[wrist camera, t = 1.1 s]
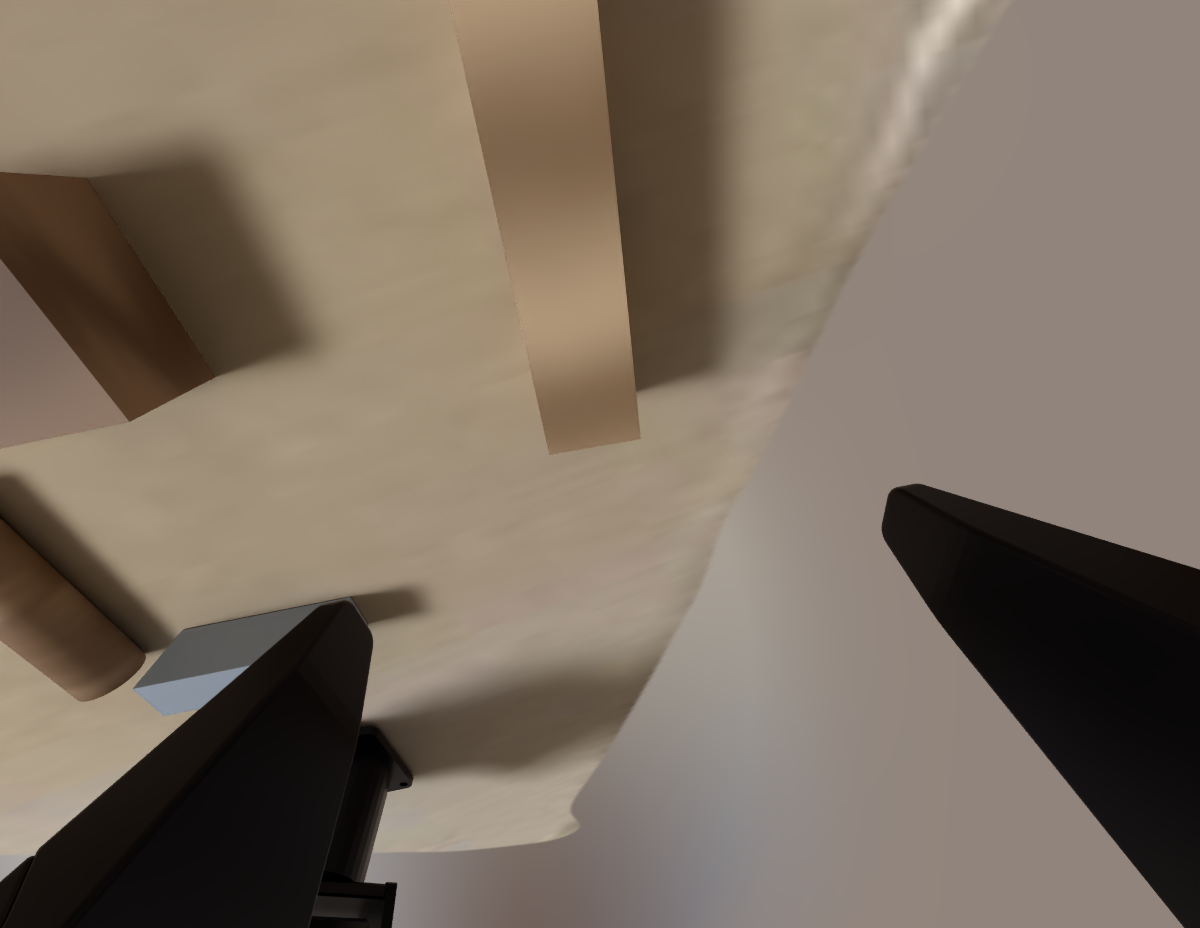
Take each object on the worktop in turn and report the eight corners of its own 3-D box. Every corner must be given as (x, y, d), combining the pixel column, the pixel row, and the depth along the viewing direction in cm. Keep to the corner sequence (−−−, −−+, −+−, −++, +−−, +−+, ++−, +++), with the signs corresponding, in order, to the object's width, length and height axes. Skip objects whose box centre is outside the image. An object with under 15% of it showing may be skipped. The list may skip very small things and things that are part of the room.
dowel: (159, 650, 22) (106, 701, 19) (116, 652, 22) (60, 701, 20) (-19, 479, 16) (-116, 522, 14) (-70, 484, 17) (-172, 527, 15)
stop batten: (367, 624, 22) (345, 679, 20) (207, 656, 22) (163, 716, 20) (350, 597, 21) (324, 650, 19) (182, 630, 21) (132, 689, 19)
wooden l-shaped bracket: (621, 394, 18) (643, 445, 14) (49, 491, 17) (-93, 574, 13) (521, -455, 9) (507, -974, 5) (-704, -320, 8) (-1839, -799, 4)
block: (218, 375, 16) (129, 422, 12) (51, 409, 16) (-86, 466, 12) (92, 178, 13) (-73, 167, 9) (-116, 219, 13) (-359, 224, 9)
